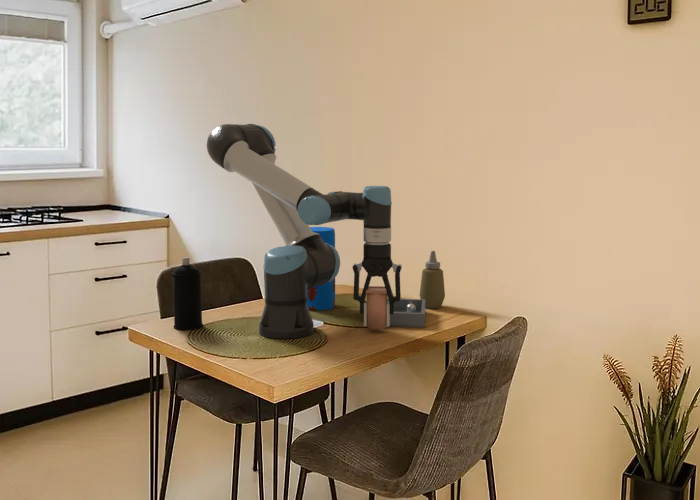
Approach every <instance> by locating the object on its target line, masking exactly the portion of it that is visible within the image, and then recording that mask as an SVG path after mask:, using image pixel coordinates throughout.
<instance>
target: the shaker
mask: <svg viewBox="0 0 700 500" xmlns="http://www.w3.org/2000/svg"><path fill="white" fill-rule="evenodd" d="M366 293H367V294H366V301H367V326H366V328H368V329H371V330H383V329H386V328H388V327H387V298H388V296H387V290H386V289H385V285H384V286H382V285H381V286H379V285H376V286H375V285H374V286H372V285H369V287H368V289H366Z"/></svg>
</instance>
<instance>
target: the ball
mask: <svg viewBox="0 0 700 500" xmlns="http://www.w3.org/2000/svg"><path fill="white" fill-rule="evenodd" d="M406 310H407V312H409V313H414V312H415V311H416V306H415V305H414V304H408V305H407V307H406Z"/></svg>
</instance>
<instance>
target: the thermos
mask: <svg viewBox="0 0 700 500" xmlns="http://www.w3.org/2000/svg"><path fill="white" fill-rule="evenodd" d="M309 227H310V229H311V231H312V232H315V233H318V234H319V235H320V236H321V238H322V240H323V242H324V243H327V244H329V245H332V246H333V247H334V248H335V249H336V232H335V228H333V227H329V226H328V227H327V226H309ZM335 304H336V277H335V278H334V279H333V280H332V281H330V282H328V283H326V284H325V285H321V286H316V287H313V288H310V289H307V306H308V309H309V311H313V310H323V311H329V310H332V309H334V308H335V306H336V305H335ZM328 309H329V310H328Z"/></svg>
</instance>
